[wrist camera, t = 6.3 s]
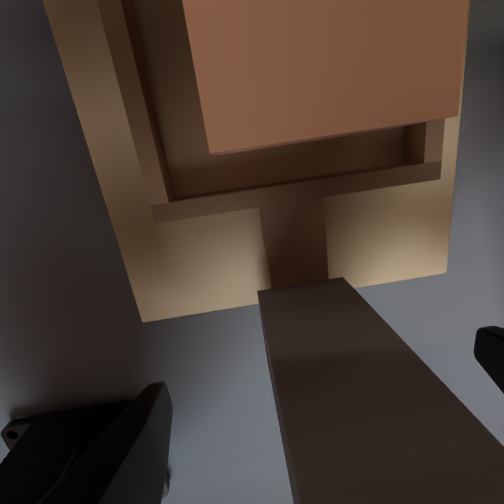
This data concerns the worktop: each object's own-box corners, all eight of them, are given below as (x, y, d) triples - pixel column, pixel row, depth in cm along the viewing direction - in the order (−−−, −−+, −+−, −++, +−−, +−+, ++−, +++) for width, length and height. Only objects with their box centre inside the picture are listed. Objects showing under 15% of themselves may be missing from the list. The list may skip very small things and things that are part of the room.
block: (353, 135, 8) (458, 115, 5) (218, 155, 8) (209, 153, 4) (350, -39, 7) (491, -268, 3) (189, -17, 7) (140, -227, 3)
